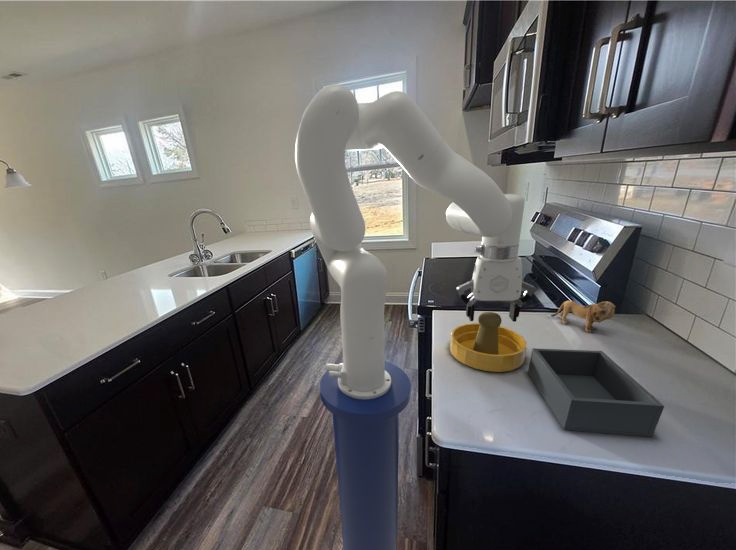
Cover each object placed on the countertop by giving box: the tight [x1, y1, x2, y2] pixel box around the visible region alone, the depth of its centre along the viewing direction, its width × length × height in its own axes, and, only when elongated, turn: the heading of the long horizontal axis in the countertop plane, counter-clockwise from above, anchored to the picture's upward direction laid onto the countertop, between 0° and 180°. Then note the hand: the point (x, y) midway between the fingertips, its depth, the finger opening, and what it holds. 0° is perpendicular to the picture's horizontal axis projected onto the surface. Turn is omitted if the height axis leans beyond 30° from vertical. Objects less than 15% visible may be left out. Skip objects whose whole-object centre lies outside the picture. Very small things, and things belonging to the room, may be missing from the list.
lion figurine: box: [550, 300, 616, 333], centre depth 91 cm, size 15×5×9 cm, turn 35°
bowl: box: [449, 322, 528, 373], centre depth 81 cm, size 17×17×4 cm
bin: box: [527, 347, 665, 438], centre depth 62 cm, size 14×18×7 cm
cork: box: [473, 311, 502, 355], centre depth 80 cm, size 6×6×11 cm
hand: (491, 319), depth 78 cm, fingers open, 9 cm apart
